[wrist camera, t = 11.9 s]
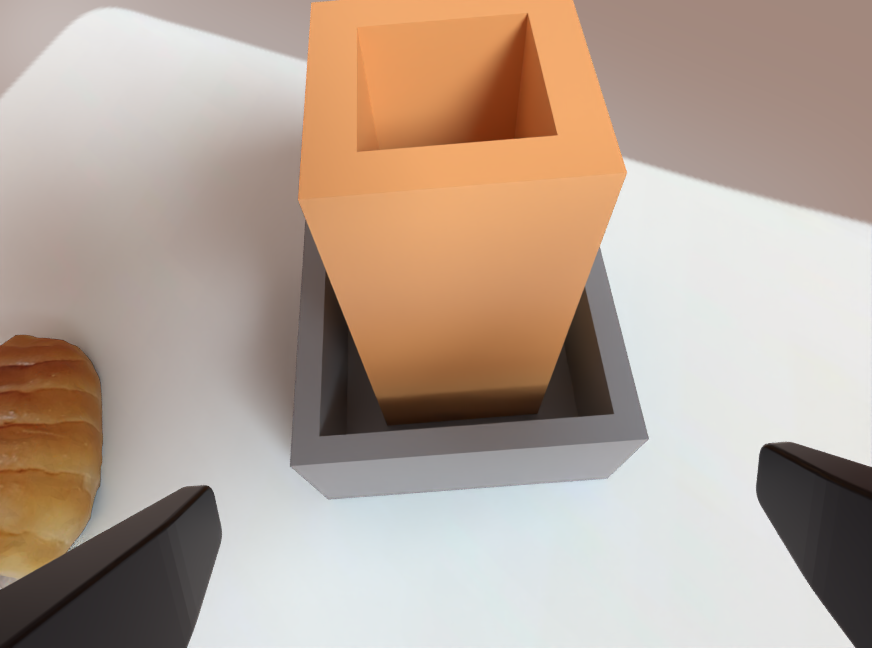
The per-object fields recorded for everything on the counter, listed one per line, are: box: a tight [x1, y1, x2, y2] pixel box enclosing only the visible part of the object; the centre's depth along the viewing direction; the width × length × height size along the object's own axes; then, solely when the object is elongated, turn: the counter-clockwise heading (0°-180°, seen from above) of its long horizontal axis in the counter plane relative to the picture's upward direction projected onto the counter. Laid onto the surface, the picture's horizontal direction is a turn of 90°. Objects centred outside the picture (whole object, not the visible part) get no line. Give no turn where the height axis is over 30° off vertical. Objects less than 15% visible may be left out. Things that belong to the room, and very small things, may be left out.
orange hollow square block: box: [298, 0, 627, 426], centre depth 16 cm, size 6×6×12 cm
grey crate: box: [290, 220, 649, 499], centre depth 20 cm, size 10×10×5 cm
